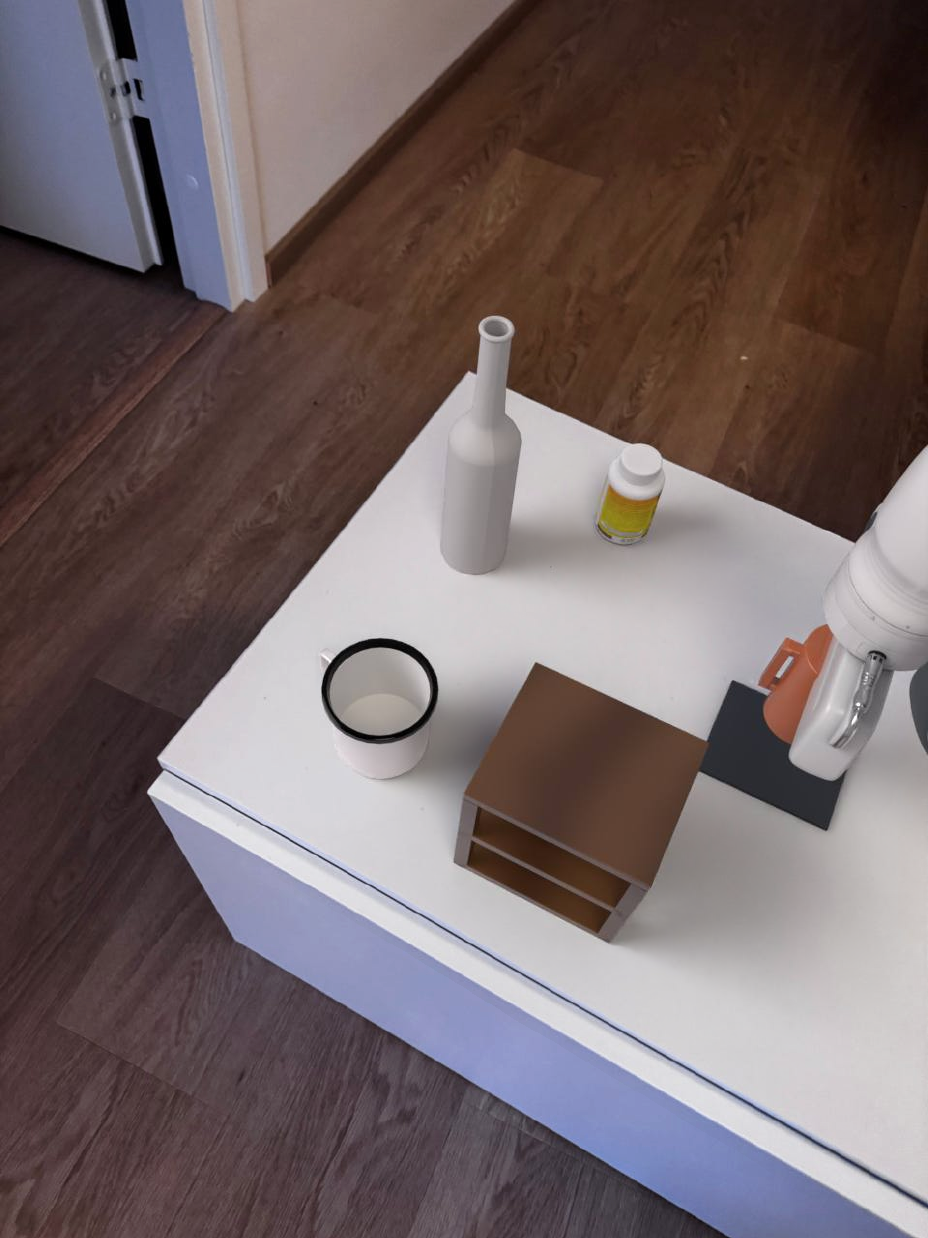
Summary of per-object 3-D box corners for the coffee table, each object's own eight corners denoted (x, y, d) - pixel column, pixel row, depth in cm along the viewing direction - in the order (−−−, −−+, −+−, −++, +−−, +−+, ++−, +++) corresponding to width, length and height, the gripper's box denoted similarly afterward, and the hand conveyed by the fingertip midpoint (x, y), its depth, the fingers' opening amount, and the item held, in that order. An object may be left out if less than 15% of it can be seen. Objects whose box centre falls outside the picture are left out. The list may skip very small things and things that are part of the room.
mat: (855, 738, 88) (857, 735, 88) (826, 831, 83) (828, 829, 83) (730, 682, 90) (732, 679, 90) (695, 769, 86) (696, 767, 85)
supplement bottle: (651, 547, 98) (675, 481, 90) (597, 547, 98) (616, 481, 89) (644, 504, 101) (667, 436, 93) (591, 503, 101) (609, 435, 92)
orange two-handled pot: (849, 707, 82) (901, 647, 73) (830, 763, 79) (883, 707, 70) (760, 667, 83) (801, 604, 75) (739, 720, 80) (779, 661, 72)
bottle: (433, 526, 98) (444, 302, 74) (496, 516, 99) (527, 293, 76) (448, 579, 95) (465, 362, 71) (513, 568, 96) (551, 351, 72)
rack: (662, 816, 83) (710, 742, 70) (609, 944, 77) (651, 887, 64) (515, 745, 86) (535, 661, 73) (452, 862, 80) (463, 793, 67)
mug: (457, 735, 86) (463, 687, 78) (380, 808, 82) (378, 764, 74) (363, 652, 90) (360, 598, 82) (285, 717, 86) (274, 667, 78)
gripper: (906, 747, 60) (823, 825, 72) (970, 520, 70) (888, 620, 82) (808, 703, 61) (742, 787, 73) (885, 486, 72) (816, 590, 83)
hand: (820, 697), depth 78 cm, fingers closed on orange two-handled pot, 6 cm apart
